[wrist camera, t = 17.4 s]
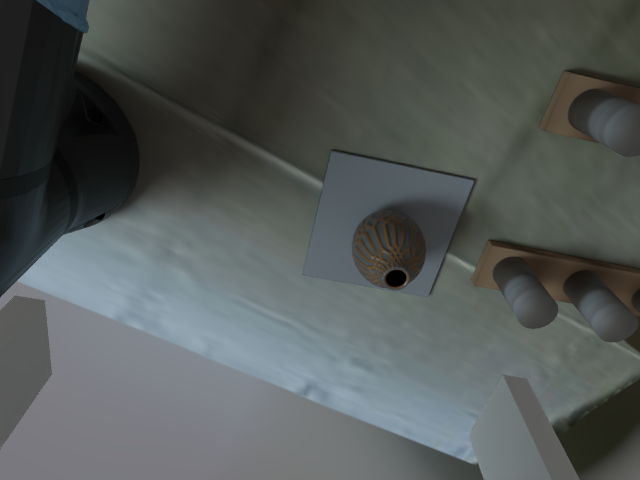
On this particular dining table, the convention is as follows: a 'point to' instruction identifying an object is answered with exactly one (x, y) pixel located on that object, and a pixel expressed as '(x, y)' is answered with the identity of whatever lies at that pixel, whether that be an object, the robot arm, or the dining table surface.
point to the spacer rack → (563, 270)
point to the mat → (382, 194)
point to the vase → (388, 249)
